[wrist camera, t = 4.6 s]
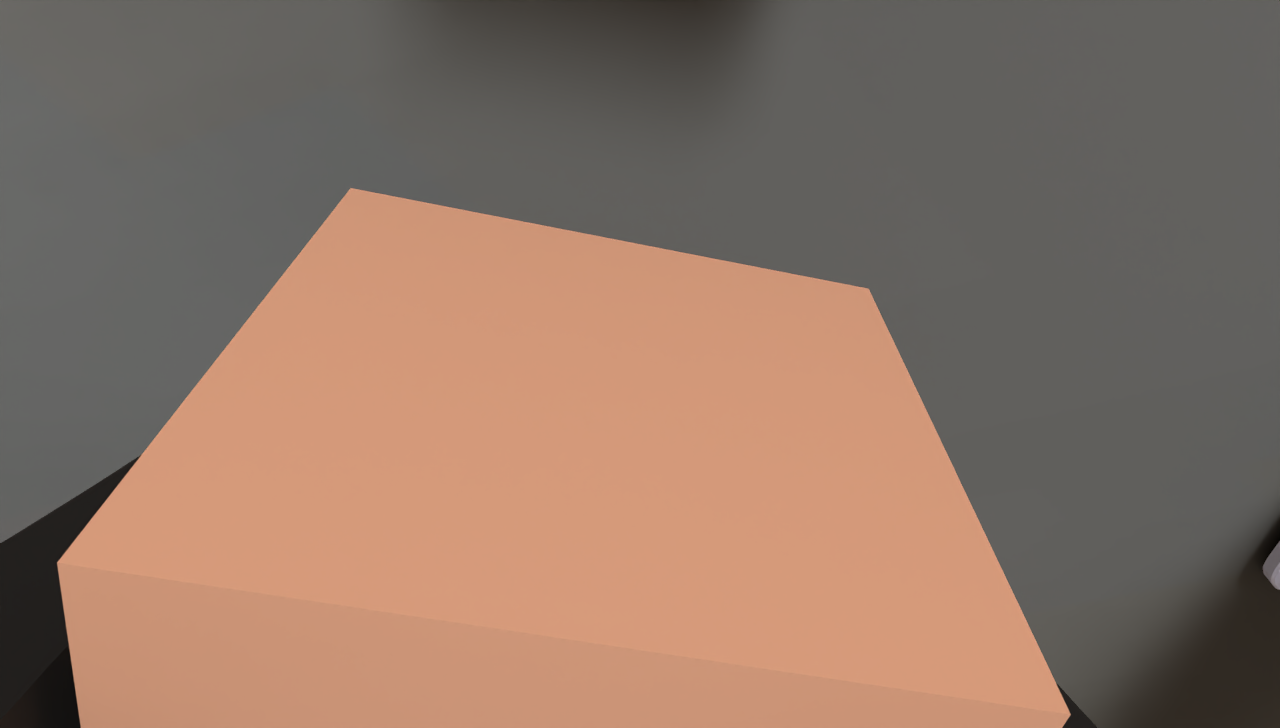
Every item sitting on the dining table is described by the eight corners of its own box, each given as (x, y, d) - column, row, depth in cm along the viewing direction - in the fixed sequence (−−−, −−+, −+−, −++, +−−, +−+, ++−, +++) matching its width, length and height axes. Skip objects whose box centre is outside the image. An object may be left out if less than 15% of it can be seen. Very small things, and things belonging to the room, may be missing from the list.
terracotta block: (868, 288, 9) (1069, 711, 5) (737, 644, 12) (792, 1135, 7) (351, 188, 9) (57, 564, 4) (329, 582, 11) (130, 1069, 7)
